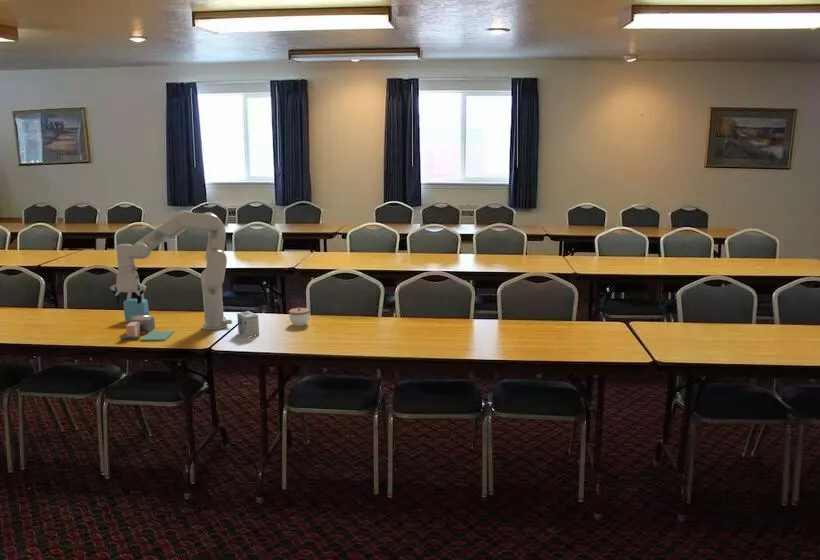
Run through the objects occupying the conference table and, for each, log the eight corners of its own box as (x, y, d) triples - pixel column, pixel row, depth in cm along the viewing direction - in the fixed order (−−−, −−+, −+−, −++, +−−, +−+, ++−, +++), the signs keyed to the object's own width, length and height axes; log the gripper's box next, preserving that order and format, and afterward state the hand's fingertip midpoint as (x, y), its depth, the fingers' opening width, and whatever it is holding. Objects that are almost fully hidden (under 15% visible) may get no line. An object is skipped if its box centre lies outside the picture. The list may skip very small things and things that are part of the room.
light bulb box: (238, 333, 334) (236, 313, 331) (250, 331, 338) (248, 310, 336) (247, 338, 326) (246, 317, 323) (260, 335, 330) (258, 314, 328)
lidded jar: (285, 326, 345) (285, 309, 343) (295, 321, 355) (294, 304, 353) (304, 328, 342) (303, 310, 340) (313, 322, 352) (312, 305, 350)
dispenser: (155, 328, 344) (153, 313, 343) (140, 339, 325) (138, 323, 323) (136, 328, 344) (134, 313, 342) (119, 340, 325) (118, 324, 323)
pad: (174, 332, 336) (174, 331, 336) (165, 340, 323) (164, 339, 322) (151, 332, 336) (151, 331, 336) (140, 341, 322) (140, 339, 322)
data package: (149, 320, 360) (147, 299, 357) (145, 322, 355) (142, 301, 353) (130, 319, 362) (127, 298, 359) (125, 321, 357) (122, 300, 355)
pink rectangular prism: (140, 335, 333) (139, 321, 331) (135, 339, 326) (133, 325, 324) (132, 335, 333) (131, 321, 331) (126, 339, 326) (125, 325, 324)
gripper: (147, 267, 326) (149, 301, 329) (112, 267, 325) (115, 301, 329) (141, 270, 318) (144, 305, 322) (105, 270, 318) (108, 305, 322)
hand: (129, 303), depth 325 cm, fingers open, 9 cm apart
